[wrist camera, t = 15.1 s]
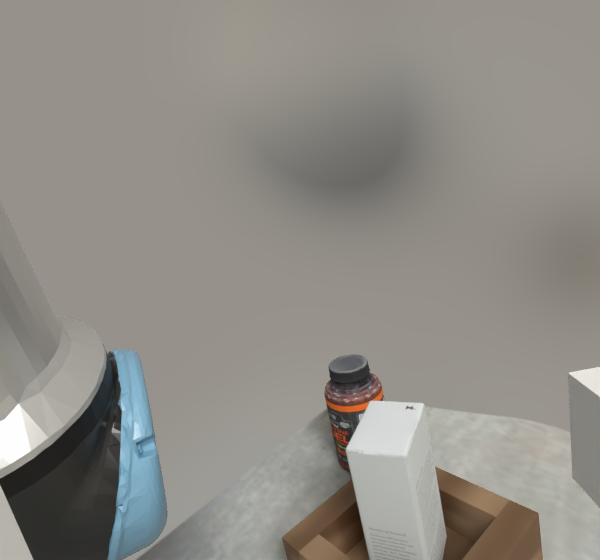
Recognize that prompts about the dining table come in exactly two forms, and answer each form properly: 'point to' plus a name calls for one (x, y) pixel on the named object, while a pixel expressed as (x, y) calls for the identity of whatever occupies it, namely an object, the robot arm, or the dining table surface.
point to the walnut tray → (457, 517)
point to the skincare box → (397, 483)
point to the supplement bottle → (349, 398)
